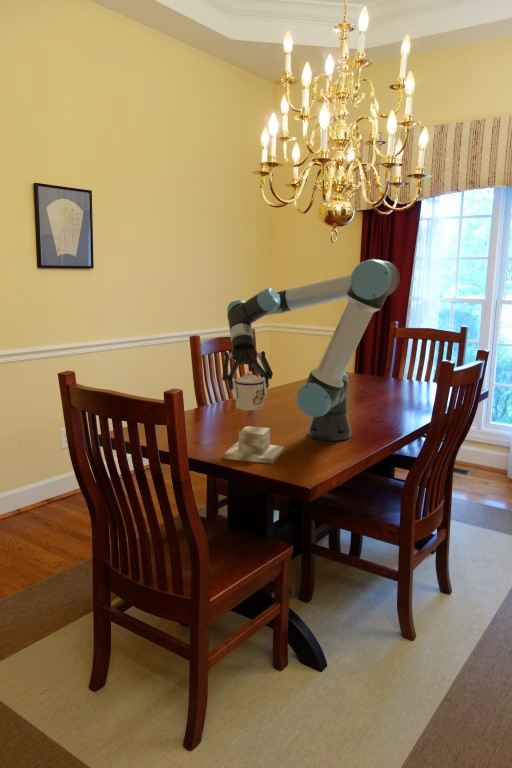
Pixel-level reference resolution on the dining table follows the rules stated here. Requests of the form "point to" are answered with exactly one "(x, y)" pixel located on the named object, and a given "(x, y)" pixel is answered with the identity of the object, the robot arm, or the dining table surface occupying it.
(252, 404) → the teacup with lid
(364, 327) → the robot arm
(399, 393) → the dining table surface
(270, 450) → the stone pedestal
